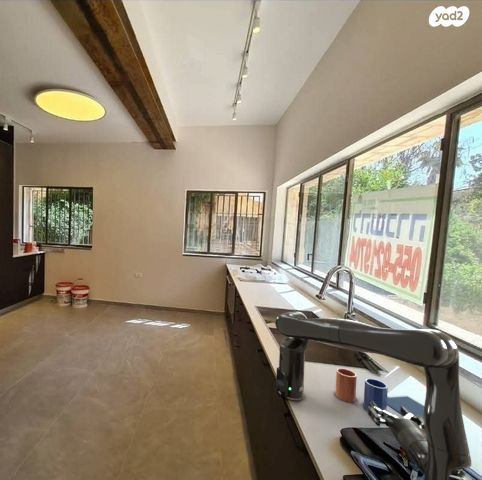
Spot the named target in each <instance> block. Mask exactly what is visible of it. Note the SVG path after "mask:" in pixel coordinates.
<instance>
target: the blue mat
mask: <svg viewBox="0 0 482 480" xmlns="http://www.w3.org/2000/svg"><path fill="white" fill-rule="evenodd" d="M401 406H403V407H404V408H405V409H407V410H408V411H409V412H410V413H412V414H413V415H414V416H420V417H422V418H423V420H424V405H423V404H421V403H419V402H417V401H416V400H414V399H412V398H411V397H409V396H394V397H387V407H390V408H391V409H393V410H394V411H396V412H398V413H399V414H400V415H401V416H403V414H402V413H401V412H400V408H401Z"/></svg>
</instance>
